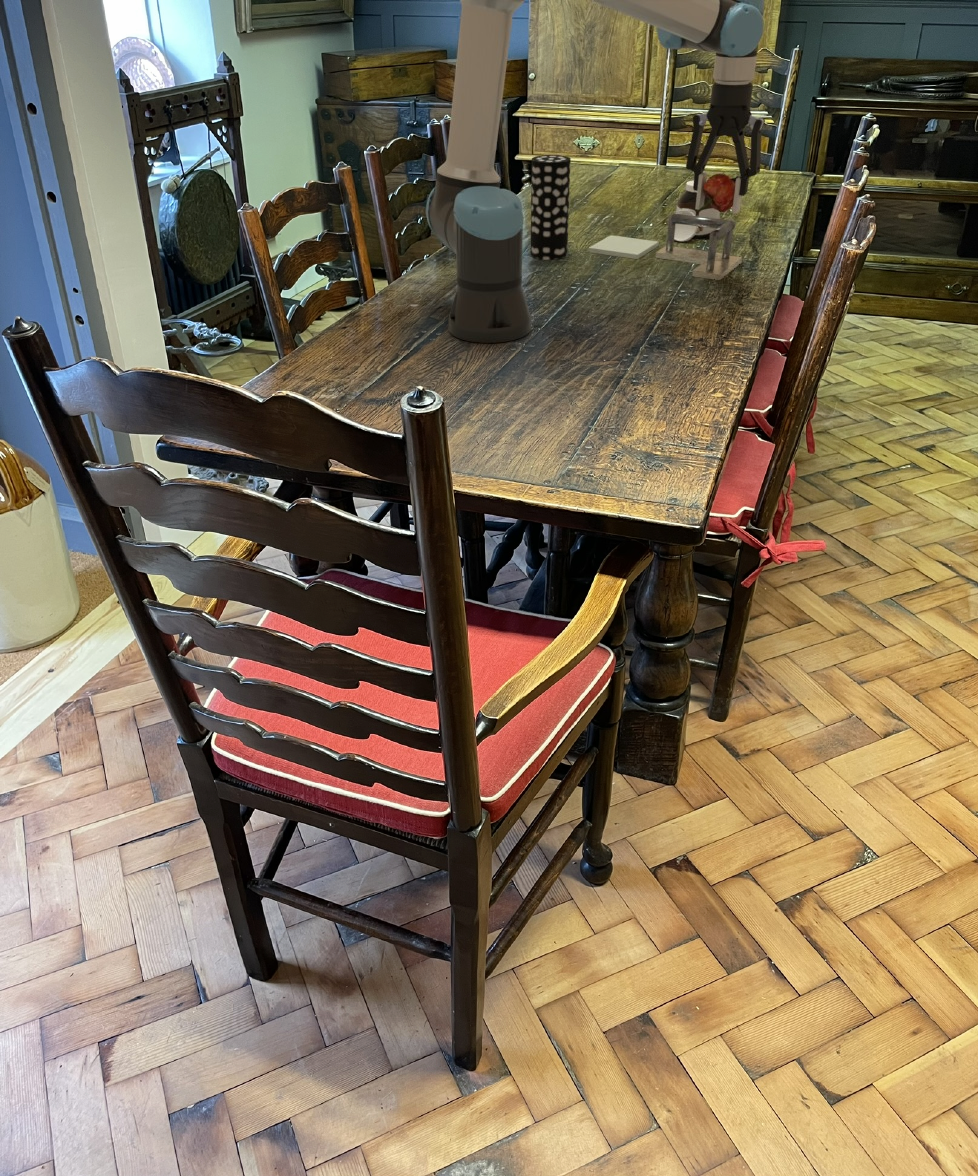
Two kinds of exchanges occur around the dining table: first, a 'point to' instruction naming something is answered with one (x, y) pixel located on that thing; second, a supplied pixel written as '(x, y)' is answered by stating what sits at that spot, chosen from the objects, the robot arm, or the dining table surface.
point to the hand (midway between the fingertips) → (717, 210)
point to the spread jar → (687, 207)
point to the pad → (623, 247)
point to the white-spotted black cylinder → (550, 206)
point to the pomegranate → (720, 192)
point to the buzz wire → (710, 260)
